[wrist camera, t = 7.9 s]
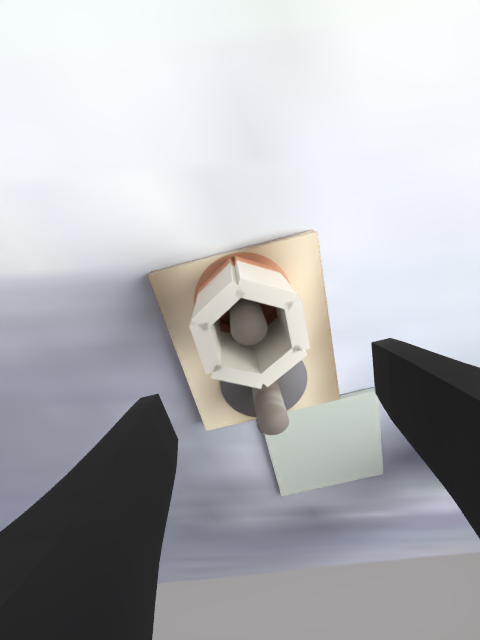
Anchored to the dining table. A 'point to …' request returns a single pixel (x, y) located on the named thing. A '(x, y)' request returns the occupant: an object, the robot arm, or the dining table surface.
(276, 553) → the dining table surface
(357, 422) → the mat
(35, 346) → the dining table surface
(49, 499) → the robot arm
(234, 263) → the sleeve
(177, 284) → the pin board
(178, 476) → the dining table surface
